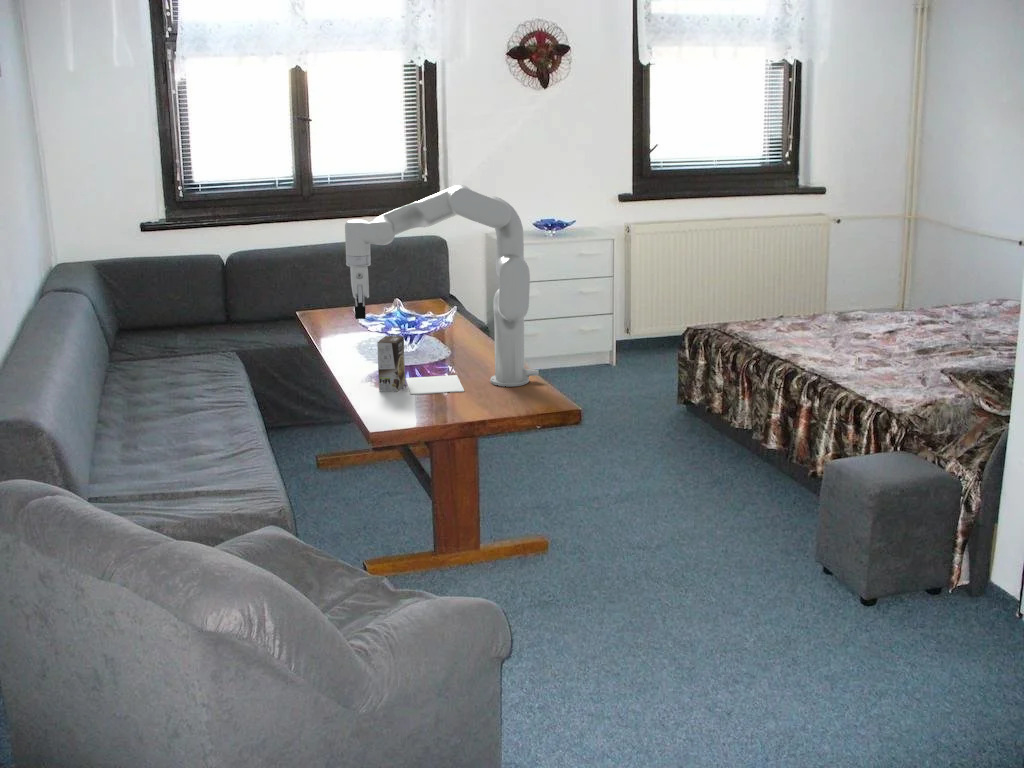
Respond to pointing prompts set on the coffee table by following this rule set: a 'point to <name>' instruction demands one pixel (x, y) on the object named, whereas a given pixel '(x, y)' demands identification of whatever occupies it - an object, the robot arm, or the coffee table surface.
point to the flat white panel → (434, 384)
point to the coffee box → (391, 363)
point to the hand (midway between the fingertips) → (360, 318)
